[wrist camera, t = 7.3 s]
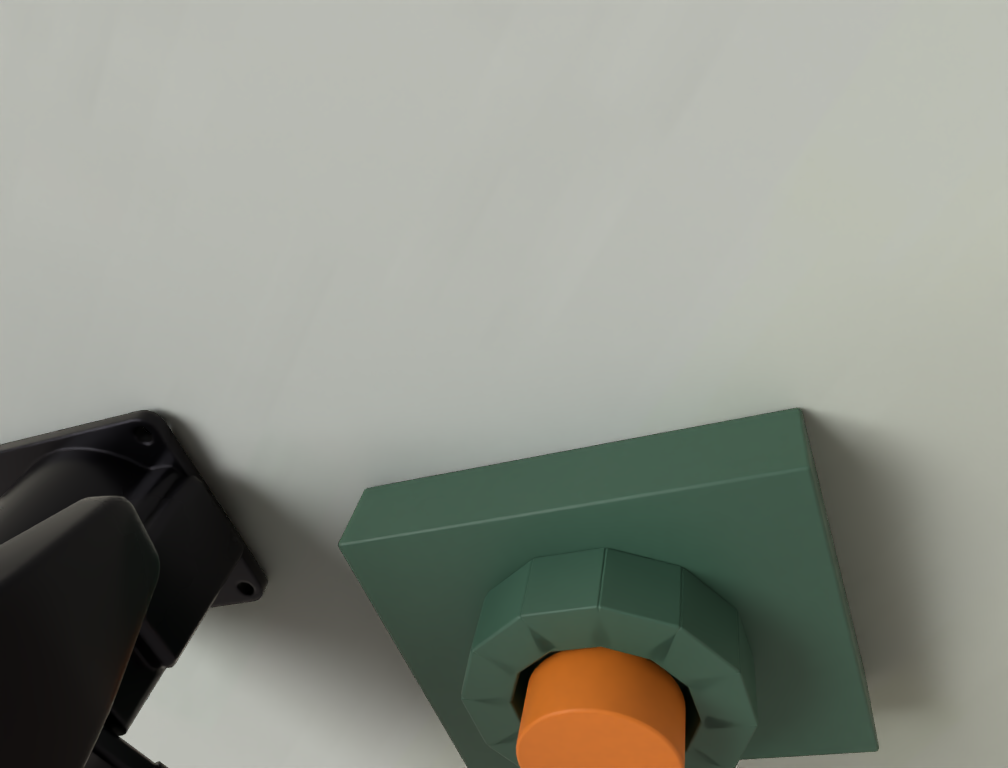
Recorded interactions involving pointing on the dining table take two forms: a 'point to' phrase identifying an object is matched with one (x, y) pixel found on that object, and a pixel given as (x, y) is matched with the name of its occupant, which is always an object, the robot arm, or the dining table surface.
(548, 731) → the button
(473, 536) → the tap control
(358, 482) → the dining table surface
